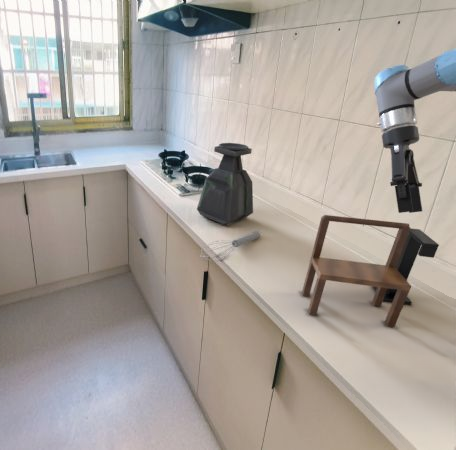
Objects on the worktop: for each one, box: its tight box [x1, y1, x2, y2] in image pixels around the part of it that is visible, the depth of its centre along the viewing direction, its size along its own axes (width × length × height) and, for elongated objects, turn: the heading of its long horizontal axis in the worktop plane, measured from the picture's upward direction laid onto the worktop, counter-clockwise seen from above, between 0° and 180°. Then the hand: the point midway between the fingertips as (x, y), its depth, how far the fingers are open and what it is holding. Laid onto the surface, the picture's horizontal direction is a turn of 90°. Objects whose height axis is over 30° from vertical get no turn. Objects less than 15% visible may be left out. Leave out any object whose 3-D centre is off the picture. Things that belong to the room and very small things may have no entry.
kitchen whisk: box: [200, 231, 262, 265], centre depth 114 cm, size 6×34×6 cm, turn 134°
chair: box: [301, 214, 412, 328], centre depth 83 cm, size 20×10×24 cm, turn 79°
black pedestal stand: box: [372, 227, 440, 306], centre depth 88 cm, size 11×7×20 cm, turn 169°
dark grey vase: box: [196, 142, 254, 226], centre depth 136 cm, size 18×16×30 cm
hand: (411, 212), depth 85 cm, fingers open, 13 cm apart
